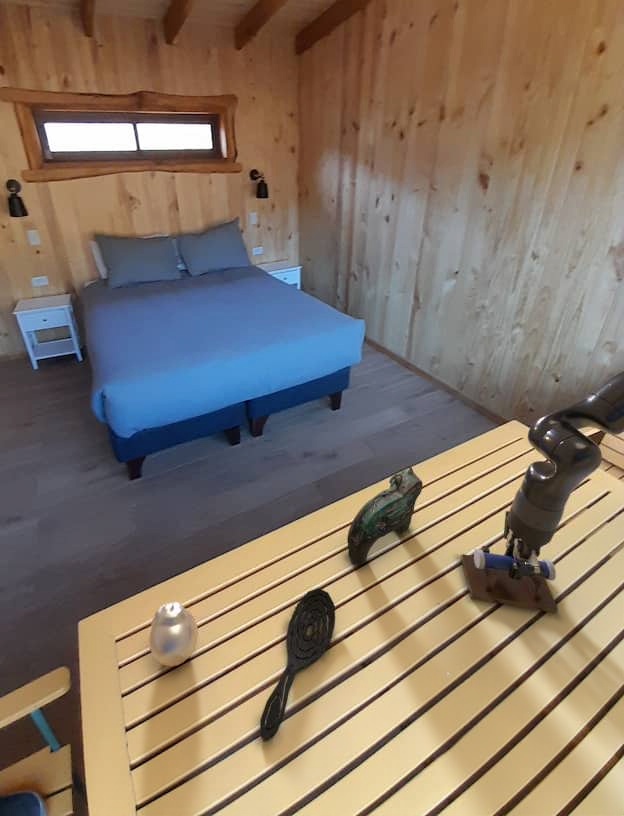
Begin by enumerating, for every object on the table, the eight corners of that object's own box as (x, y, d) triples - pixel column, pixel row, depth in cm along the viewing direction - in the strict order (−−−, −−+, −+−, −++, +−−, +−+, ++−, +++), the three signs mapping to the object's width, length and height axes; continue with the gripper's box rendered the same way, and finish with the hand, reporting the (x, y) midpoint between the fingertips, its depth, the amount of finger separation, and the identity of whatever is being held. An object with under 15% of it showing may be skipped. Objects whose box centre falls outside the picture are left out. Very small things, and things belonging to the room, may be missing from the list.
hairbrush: (241, 715, 65) (306, 577, 83) (242, 724, 67) (305, 587, 85) (286, 750, 61) (343, 598, 80) (286, 759, 63) (342, 608, 81)
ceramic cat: (399, 512, 102) (410, 453, 93) (420, 531, 97) (434, 470, 88) (340, 552, 93) (347, 490, 84) (360, 575, 88) (370, 512, 79)
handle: (544, 567, 84) (549, 556, 82) (552, 584, 80) (557, 573, 79) (472, 555, 86) (476, 545, 84) (477, 572, 83) (481, 561, 81)
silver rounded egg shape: (203, 619, 80) (198, 589, 76) (196, 675, 72) (190, 646, 68) (158, 619, 81) (151, 589, 76) (146, 676, 72) (137, 646, 68)
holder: (537, 570, 88) (547, 550, 85) (556, 613, 80) (567, 593, 77) (460, 558, 91) (466, 538, 88) (470, 598, 83) (477, 578, 80)
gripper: (575, 549, 69) (545, 608, 76) (541, 486, 81) (518, 542, 89) (527, 542, 70) (502, 600, 78) (501, 481, 82) (482, 536, 90)
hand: (511, 569), depth 83 cm, fingers closed on handle, 3 cm apart
